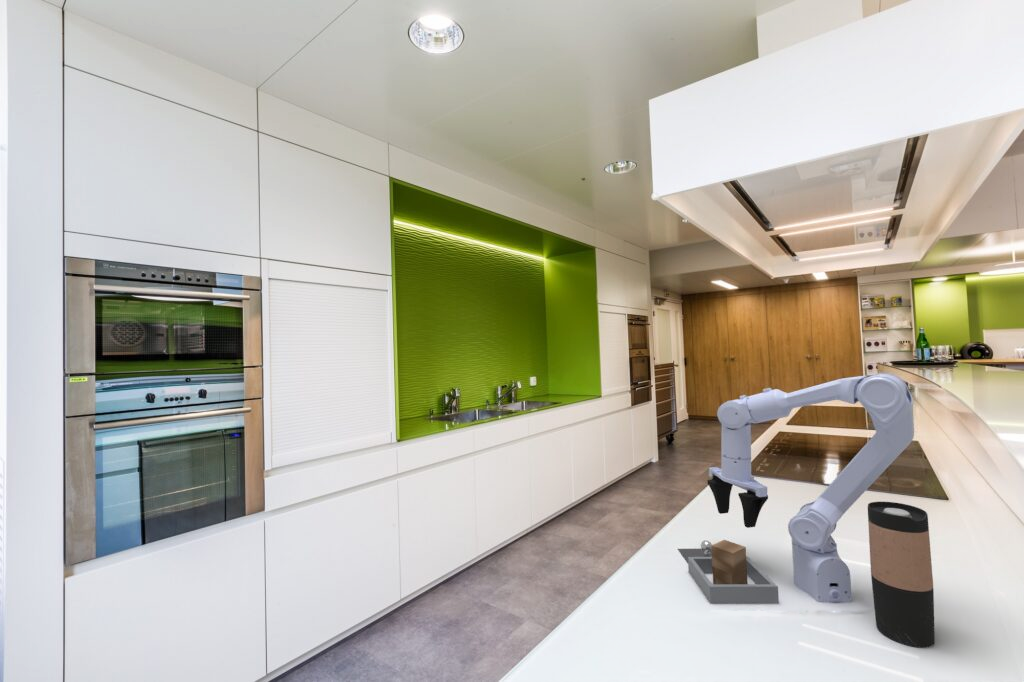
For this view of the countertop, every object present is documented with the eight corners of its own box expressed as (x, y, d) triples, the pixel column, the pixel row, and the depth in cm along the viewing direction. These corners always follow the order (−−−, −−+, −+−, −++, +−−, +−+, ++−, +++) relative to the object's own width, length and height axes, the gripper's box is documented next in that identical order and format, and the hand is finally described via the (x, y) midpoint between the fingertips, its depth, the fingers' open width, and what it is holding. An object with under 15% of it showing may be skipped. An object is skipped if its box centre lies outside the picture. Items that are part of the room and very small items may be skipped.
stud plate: (741, 573, 93) (739, 550, 93) (692, 574, 94) (690, 550, 94) (721, 552, 103) (720, 531, 103) (677, 553, 104) (676, 532, 104)
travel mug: (874, 614, 78) (867, 498, 78) (934, 630, 73) (926, 506, 73) (874, 637, 72) (866, 511, 72) (939, 655, 67) (930, 520, 68)
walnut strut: (747, 589, 86) (745, 546, 86) (735, 597, 83) (732, 553, 84) (726, 580, 90) (724, 539, 90) (713, 587, 87) (711, 545, 87)
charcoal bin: (779, 609, 80) (777, 586, 80) (710, 609, 81) (709, 586, 81) (748, 576, 92) (747, 556, 92) (688, 576, 93) (687, 556, 93)
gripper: (779, 463, 90) (779, 531, 90) (726, 447, 104) (727, 505, 104) (750, 466, 88) (750, 535, 88) (701, 449, 102) (701, 508, 102)
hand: (736, 519), depth 96 cm, fingers open, 7 cm apart
